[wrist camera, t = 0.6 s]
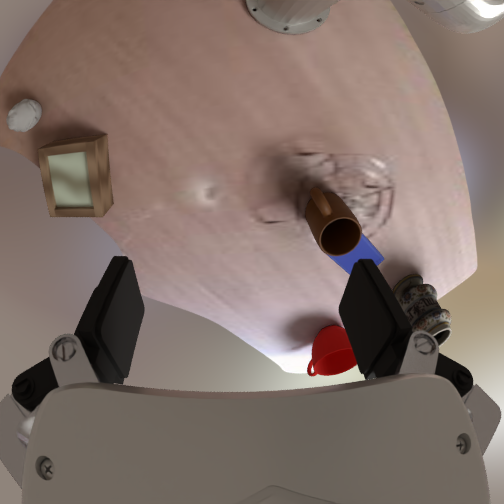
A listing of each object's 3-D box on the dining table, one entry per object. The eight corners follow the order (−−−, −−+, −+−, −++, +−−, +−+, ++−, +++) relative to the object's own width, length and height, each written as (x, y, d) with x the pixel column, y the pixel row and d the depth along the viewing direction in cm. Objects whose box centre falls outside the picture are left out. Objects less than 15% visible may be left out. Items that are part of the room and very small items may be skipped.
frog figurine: (24, 99, 29) (1, 106, 24) (49, 93, 30) (26, 98, 25) (24, 128, 33) (2, 138, 27) (49, 124, 34) (26, 134, 28)
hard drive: (325, 253, 53) (357, 282, 58) (355, 226, 49) (385, 259, 54) (323, 249, 54) (355, 277, 59) (353, 222, 51) (382, 255, 56)
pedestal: (53, 141, 36) (37, 149, 31) (107, 134, 37) (93, 141, 33) (63, 204, 43) (50, 217, 39) (113, 203, 44) (102, 217, 40)
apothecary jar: (379, 297, 63) (407, 353, 48) (411, 263, 57) (448, 317, 43) (403, 309, 67) (429, 359, 52) (432, 279, 61) (464, 328, 47)
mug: (284, 185, 45) (295, 210, 37) (322, 162, 43) (341, 183, 35) (315, 234, 51) (329, 265, 43) (349, 215, 49) (369, 242, 41)
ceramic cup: (287, 347, 72) (292, 377, 64) (330, 311, 64) (341, 343, 56) (319, 357, 77) (326, 385, 68) (360, 325, 69) (372, 354, 61)
